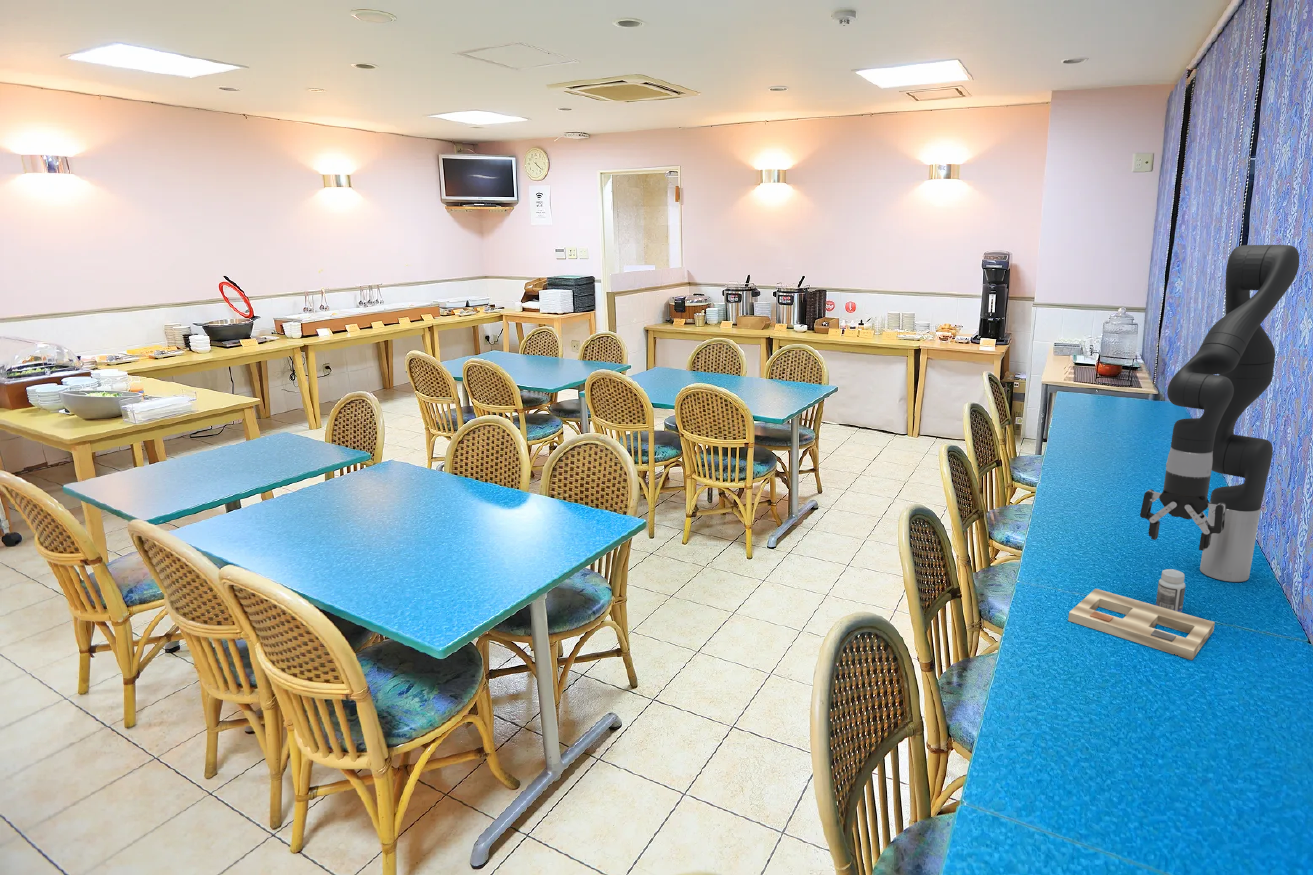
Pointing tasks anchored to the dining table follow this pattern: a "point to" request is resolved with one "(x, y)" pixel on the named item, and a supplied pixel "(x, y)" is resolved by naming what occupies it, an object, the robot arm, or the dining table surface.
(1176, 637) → the socket board
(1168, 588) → the pill bottle
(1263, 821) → the dining table surface
